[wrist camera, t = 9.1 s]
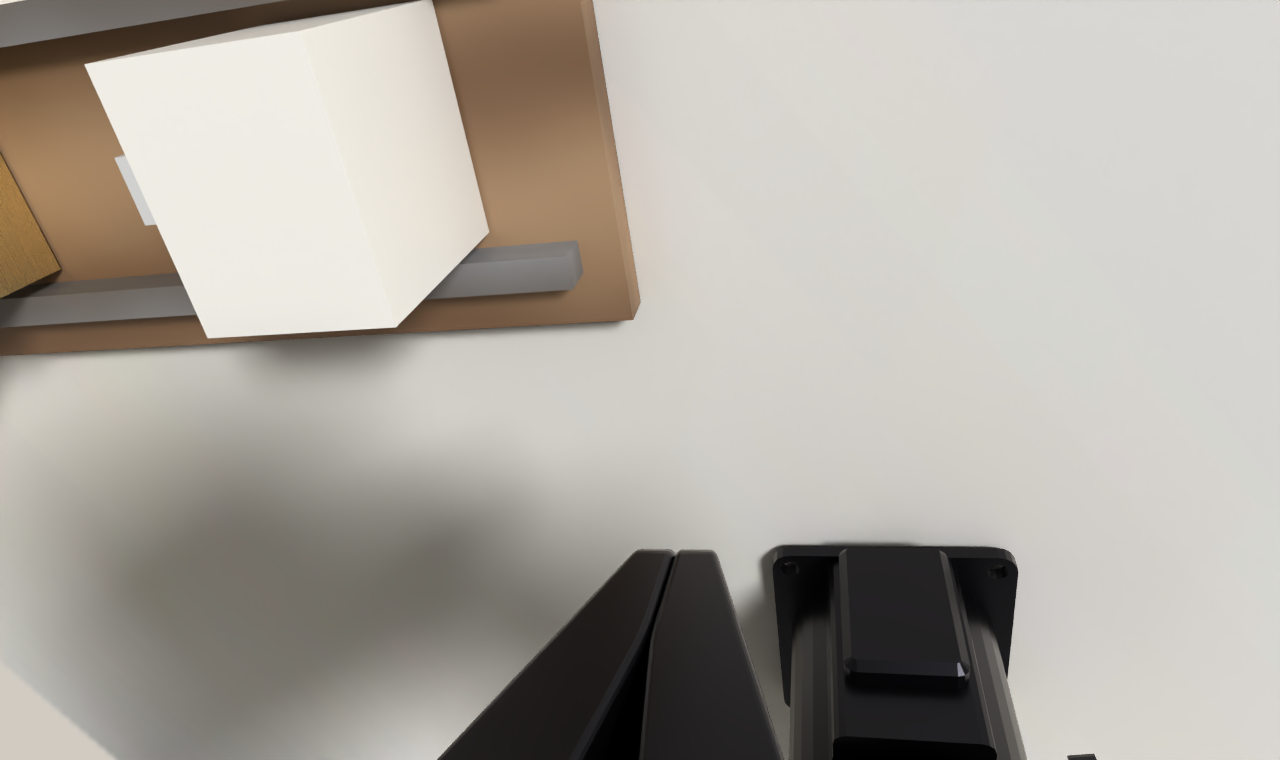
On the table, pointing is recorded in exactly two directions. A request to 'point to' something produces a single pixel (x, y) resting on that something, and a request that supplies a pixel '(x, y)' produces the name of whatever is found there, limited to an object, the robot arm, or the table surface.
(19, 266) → the brushed brass plate
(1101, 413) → the table surface
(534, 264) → the base
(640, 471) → the table surface
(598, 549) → the table surface
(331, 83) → the ivory matte cube
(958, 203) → the table surface
